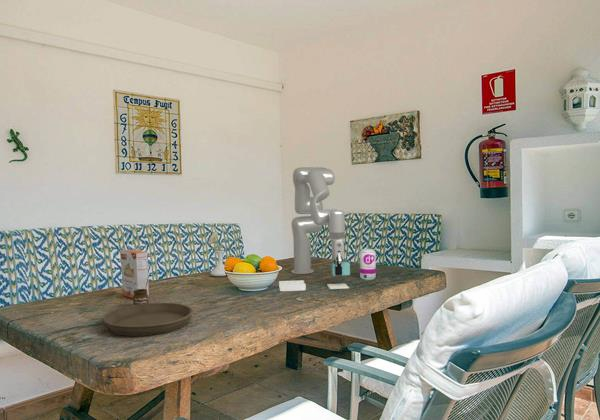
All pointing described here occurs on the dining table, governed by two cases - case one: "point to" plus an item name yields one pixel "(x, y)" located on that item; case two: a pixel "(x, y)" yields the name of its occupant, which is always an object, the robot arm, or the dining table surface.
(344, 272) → the teal block
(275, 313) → the dining table surface
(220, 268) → the flower in vase
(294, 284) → the channel
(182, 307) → the plant saucer
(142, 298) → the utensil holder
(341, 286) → the tile
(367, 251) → the supplement can
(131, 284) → the cracker box
